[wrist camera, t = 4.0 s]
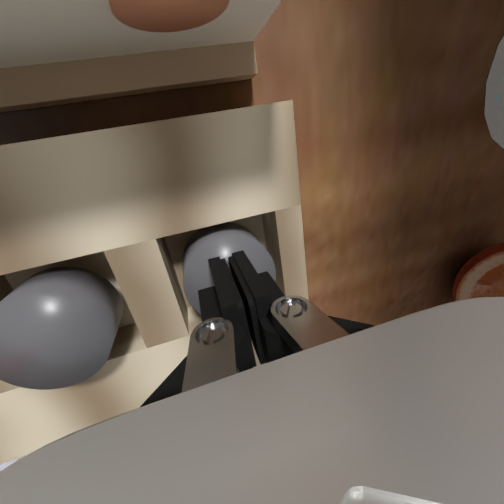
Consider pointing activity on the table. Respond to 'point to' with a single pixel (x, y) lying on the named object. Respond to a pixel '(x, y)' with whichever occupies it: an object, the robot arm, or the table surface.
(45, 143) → the button board
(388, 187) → the table surface
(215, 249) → the button
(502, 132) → the french press
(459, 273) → the fruit slice
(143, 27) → the pattern card
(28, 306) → the middle button
